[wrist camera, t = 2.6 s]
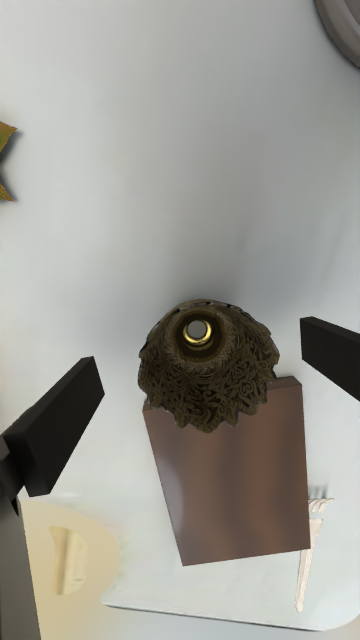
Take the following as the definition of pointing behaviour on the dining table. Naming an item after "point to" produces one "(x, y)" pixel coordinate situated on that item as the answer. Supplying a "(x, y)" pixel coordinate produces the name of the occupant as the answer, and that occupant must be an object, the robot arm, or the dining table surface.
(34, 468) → the robot arm
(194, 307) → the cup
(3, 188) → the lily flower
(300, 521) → the walnut board
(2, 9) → the dining table surface
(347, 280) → the dining table surface
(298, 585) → the fork
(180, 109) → the dining table surface
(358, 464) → the dining table surface
